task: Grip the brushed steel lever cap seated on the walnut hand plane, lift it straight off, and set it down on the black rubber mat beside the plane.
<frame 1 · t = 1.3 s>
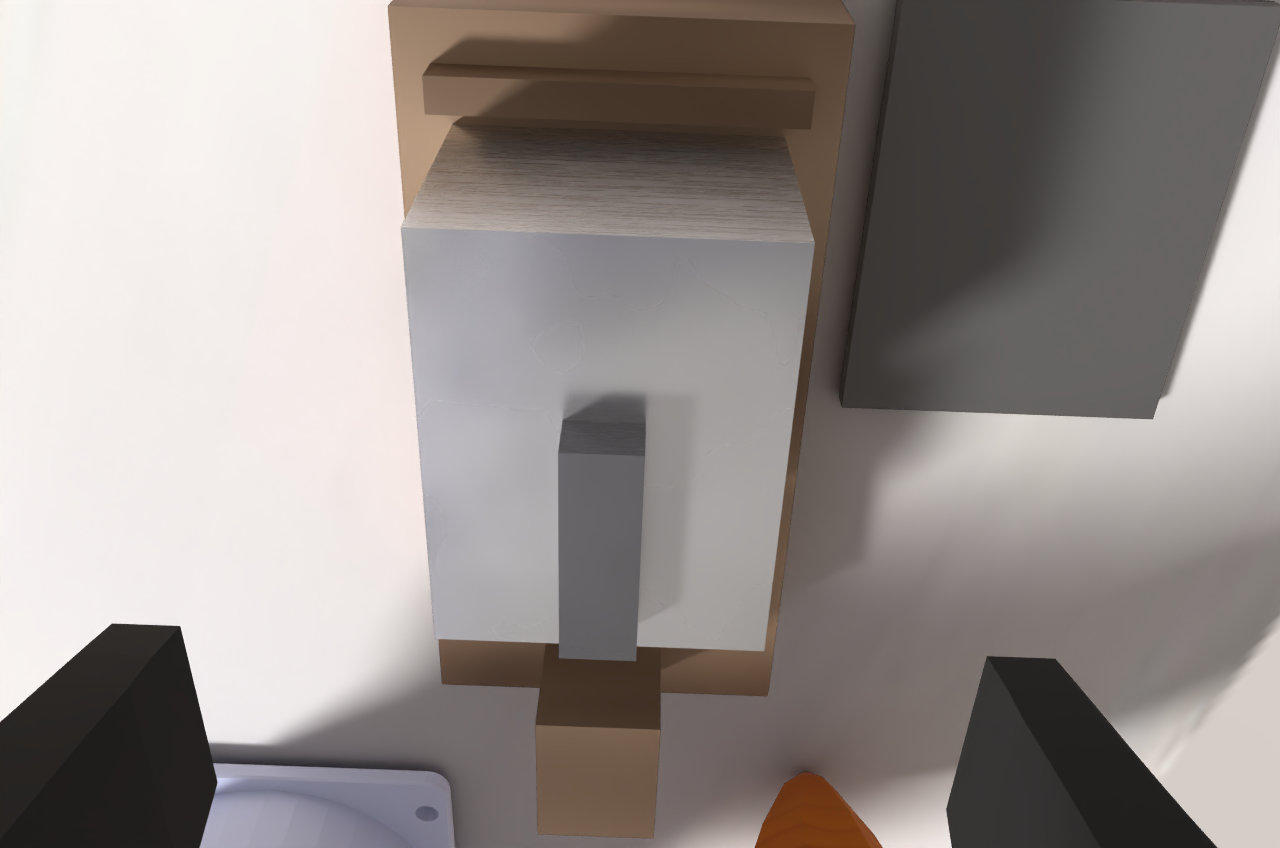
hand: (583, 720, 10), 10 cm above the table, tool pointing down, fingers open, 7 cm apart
rubber mat: (1034, 218, 19), on the table
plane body: (617, 337, 20), on the table
lever cap: (614, 327, 17), point 2 cm above the table, touching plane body
carrot: (803, 769, 26), on the table
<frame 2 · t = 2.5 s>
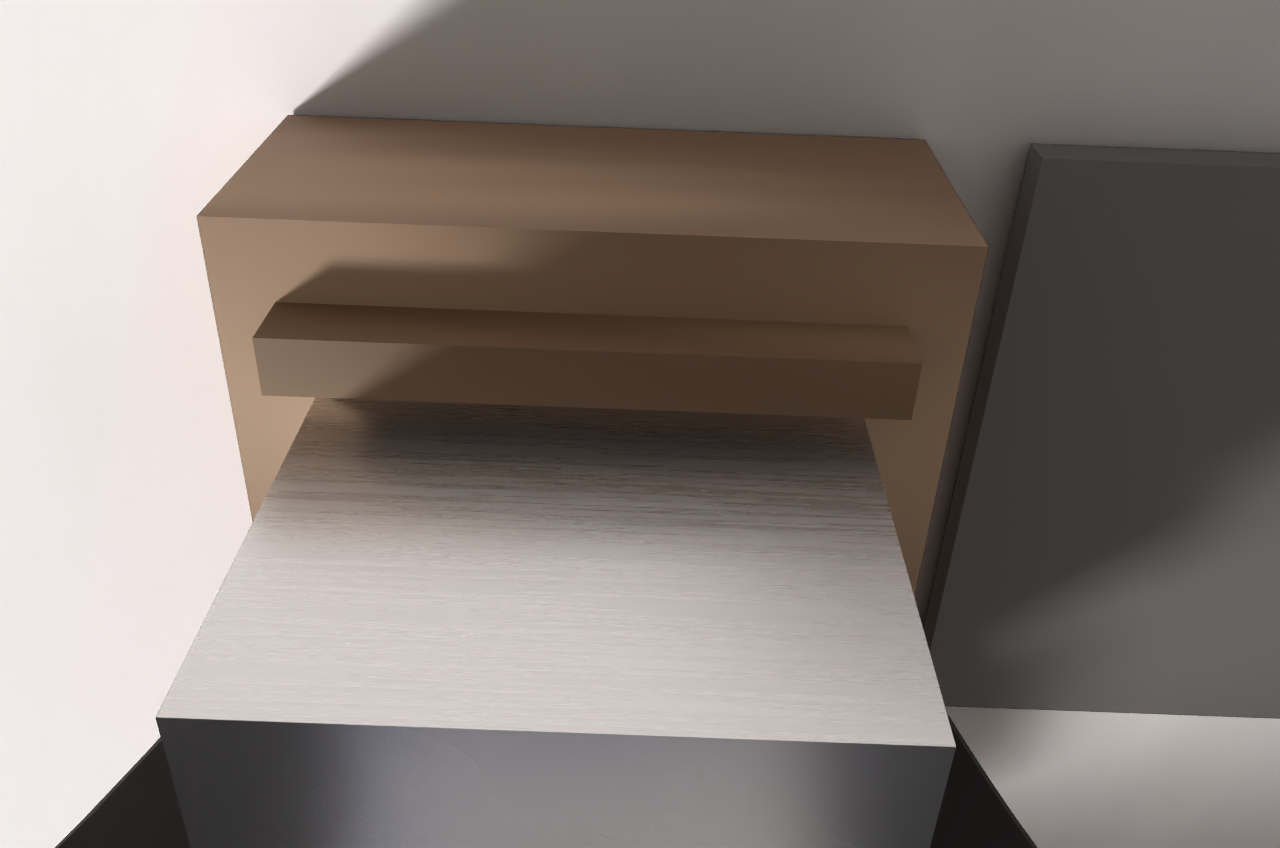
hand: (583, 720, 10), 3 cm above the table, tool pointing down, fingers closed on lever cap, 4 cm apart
rubber mat: (1210, 461, 13), on the table
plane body: (597, 610, 14), on the table
lever cap: (587, 666, 11), point 2 cm above the table, touching gripper, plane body
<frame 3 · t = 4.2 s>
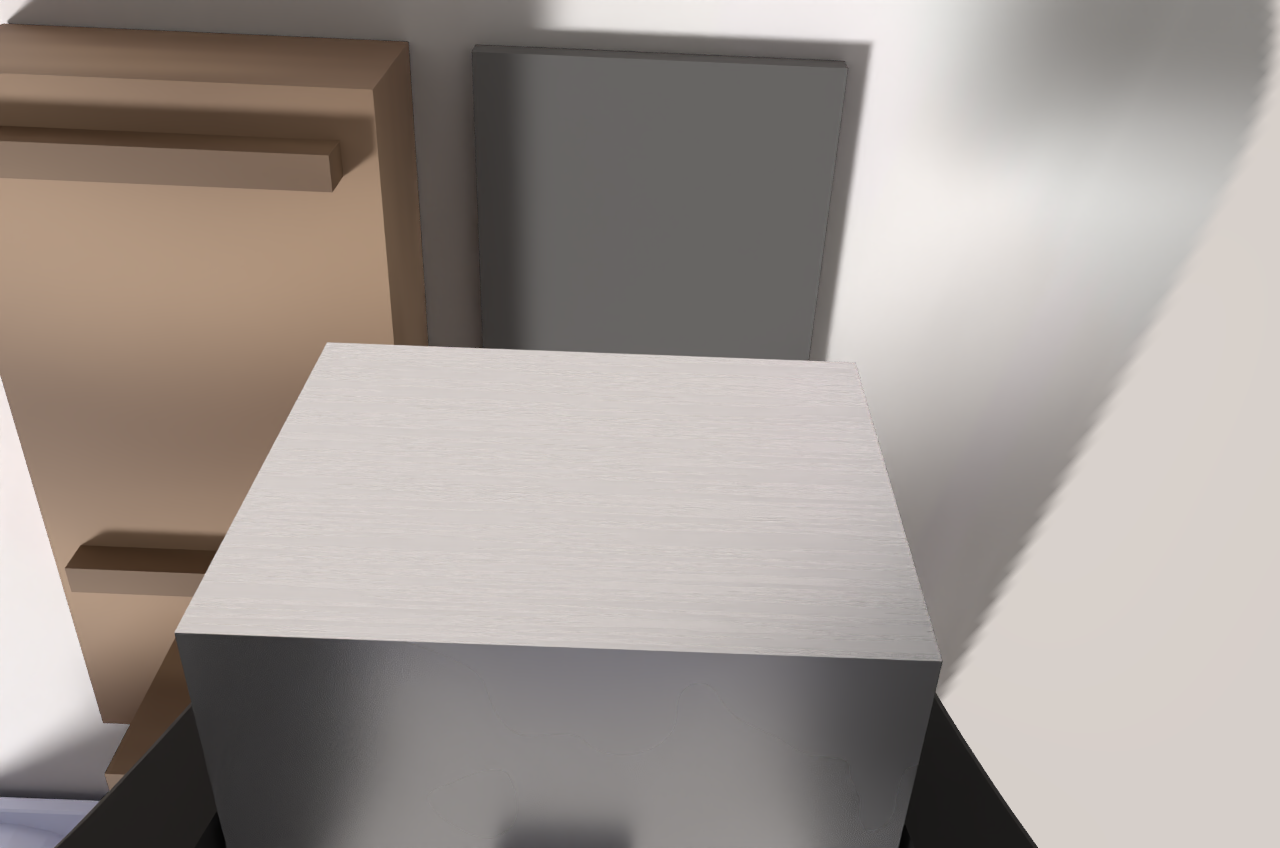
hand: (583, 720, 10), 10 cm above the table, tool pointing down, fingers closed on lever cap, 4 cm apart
rubber mat: (649, 268, 19), on the table
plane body: (261, 382, 20), on the table
lever cap: (588, 618, 11), point 9 cm above the table, touching gripper
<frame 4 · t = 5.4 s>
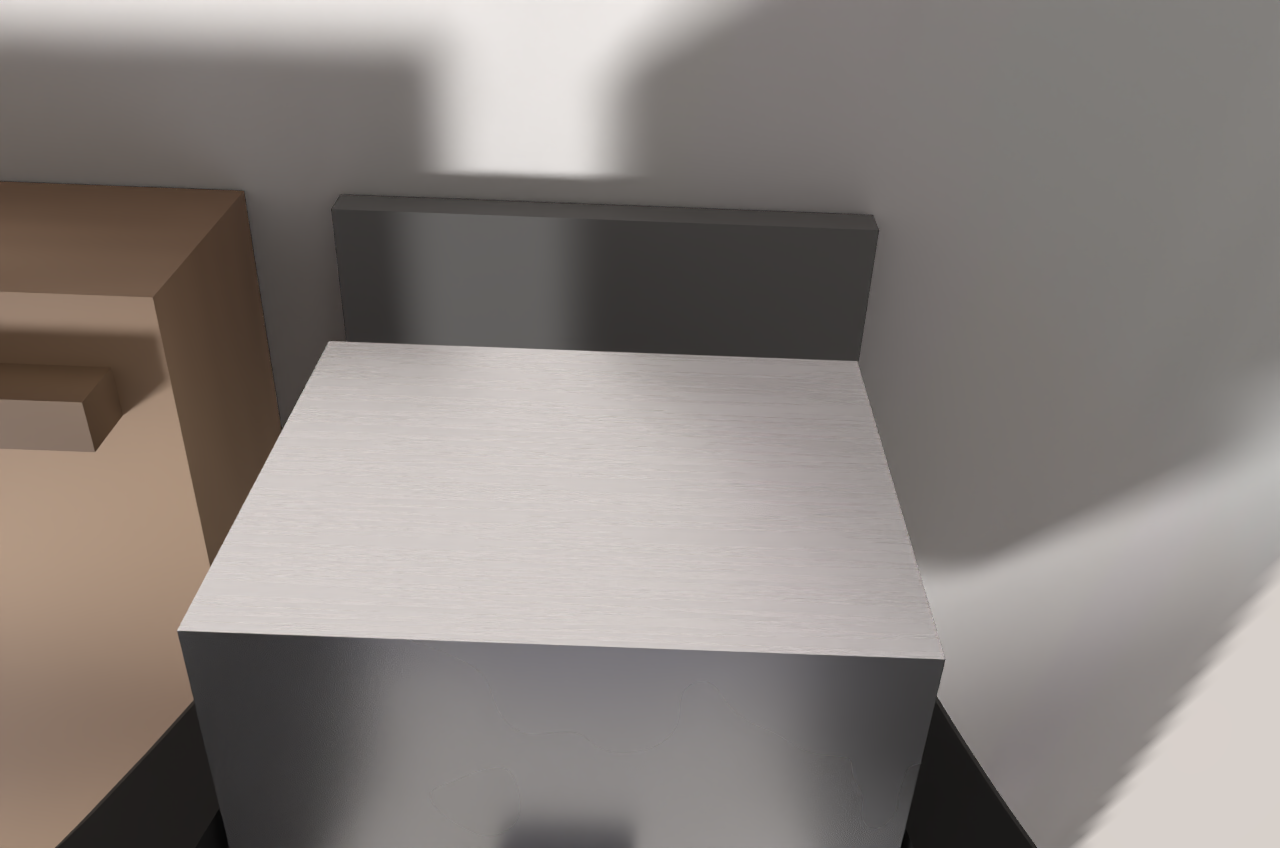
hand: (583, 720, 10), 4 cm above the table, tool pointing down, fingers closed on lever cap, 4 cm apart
rubber mat: (601, 481, 14), on the table
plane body: (83, 618, 15), on the table
lever cap: (589, 617, 11), point 3 cm above the table, touching gripper
when the fingers open (4 cm above the table, at t = 5.9 s): lever cap drops 2 cm, resting on rubber mat.
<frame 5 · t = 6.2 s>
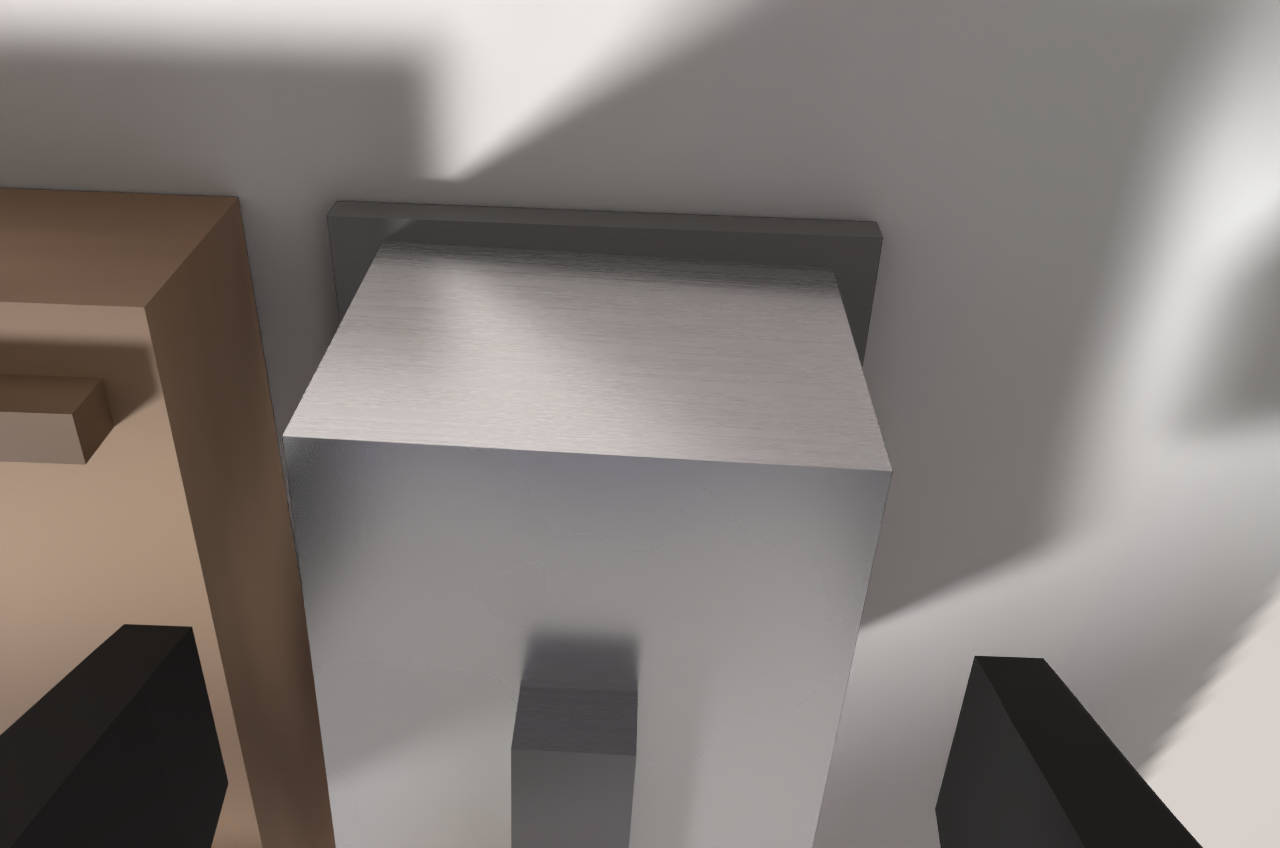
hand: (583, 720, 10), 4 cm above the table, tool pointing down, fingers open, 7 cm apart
rubber mat: (601, 491, 14), on the table
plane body: (77, 628, 15), on the table
lever cap: (597, 496, 13), resting on rubber mat
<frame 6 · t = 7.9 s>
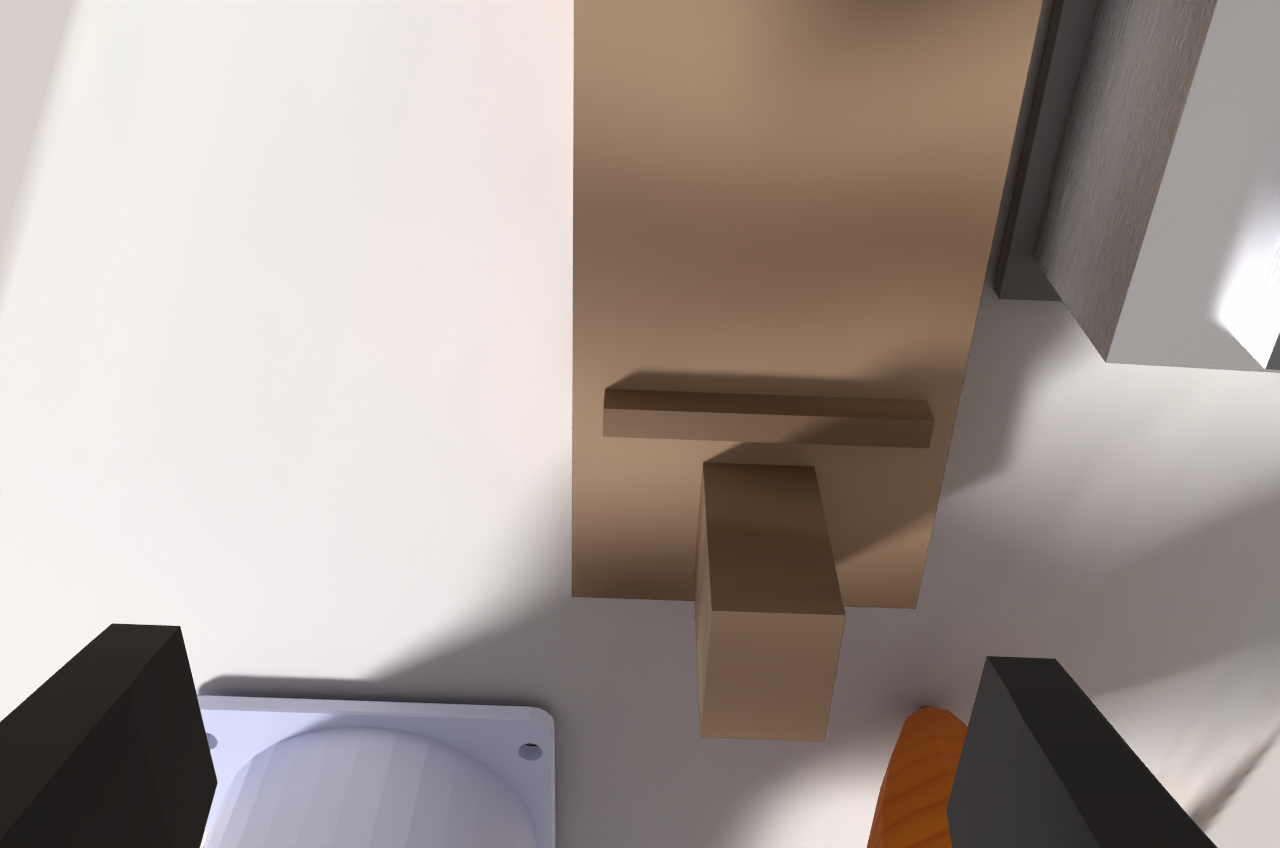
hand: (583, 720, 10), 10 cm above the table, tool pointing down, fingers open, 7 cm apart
rubber mat: (1215, 88, 18), on the table
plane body: (763, 224, 19), on the table
lever cap: (1228, 81, 17), resting on rubber mat
carrot: (923, 704, 25), on the table
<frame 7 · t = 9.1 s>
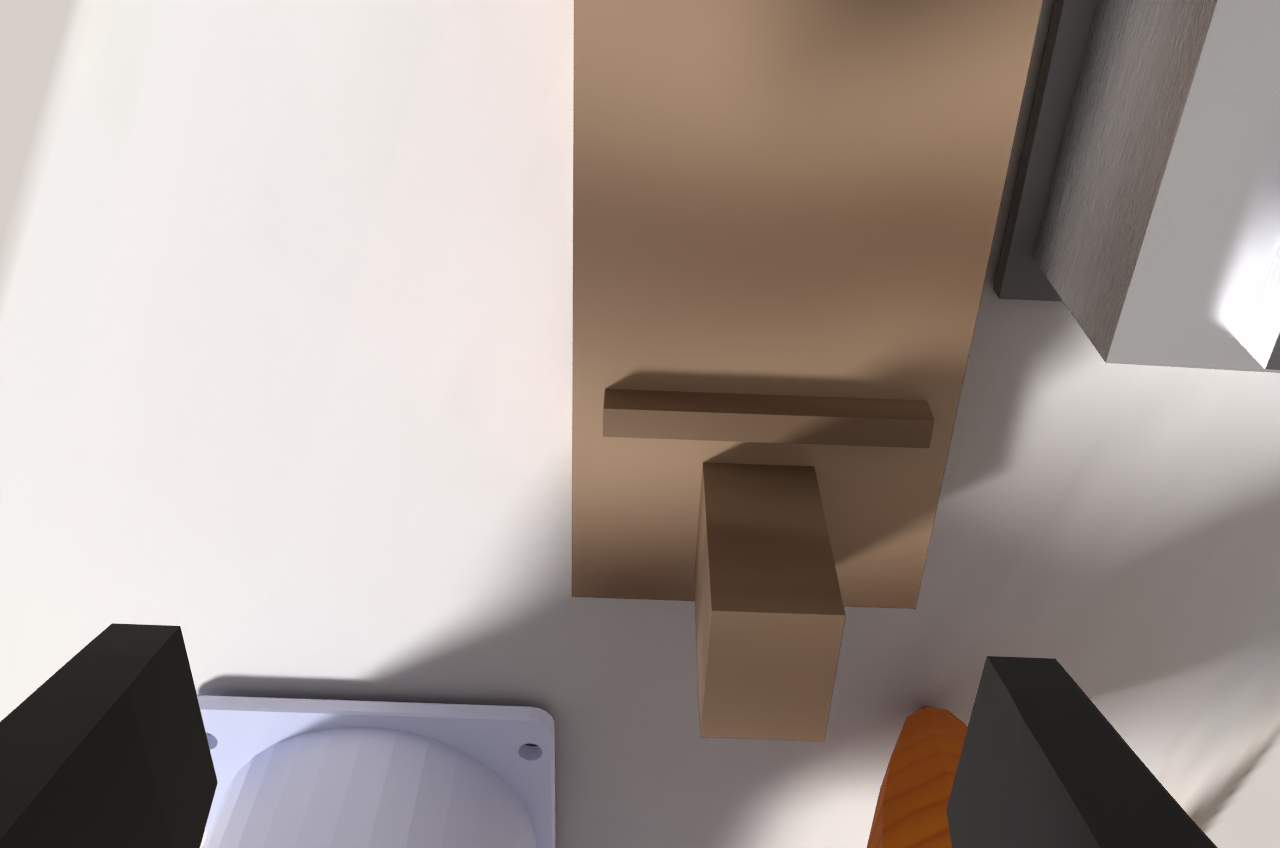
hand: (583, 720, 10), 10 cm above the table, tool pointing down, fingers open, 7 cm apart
rubber mat: (1215, 88, 18), on the table
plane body: (763, 224, 19), on the table
lever cap: (1228, 81, 17), resting on rubber mat
carrot: (923, 704, 25), on the table
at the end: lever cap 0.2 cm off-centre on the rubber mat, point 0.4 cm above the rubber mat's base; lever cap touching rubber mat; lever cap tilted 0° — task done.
